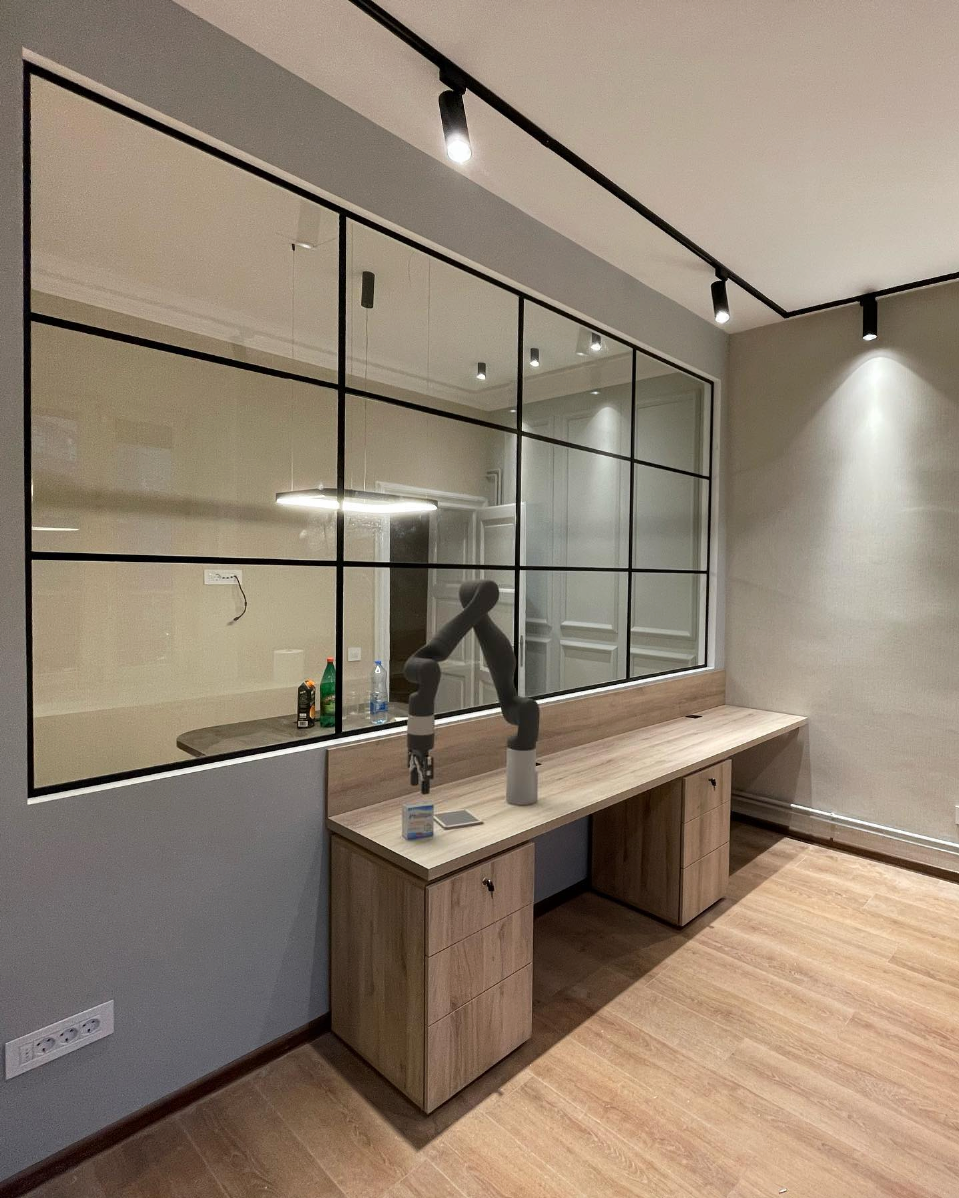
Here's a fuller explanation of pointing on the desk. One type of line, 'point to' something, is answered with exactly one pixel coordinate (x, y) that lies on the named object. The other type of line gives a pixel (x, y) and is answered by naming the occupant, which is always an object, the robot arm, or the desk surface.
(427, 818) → the medicine box
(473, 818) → the mat
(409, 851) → the desk surface
